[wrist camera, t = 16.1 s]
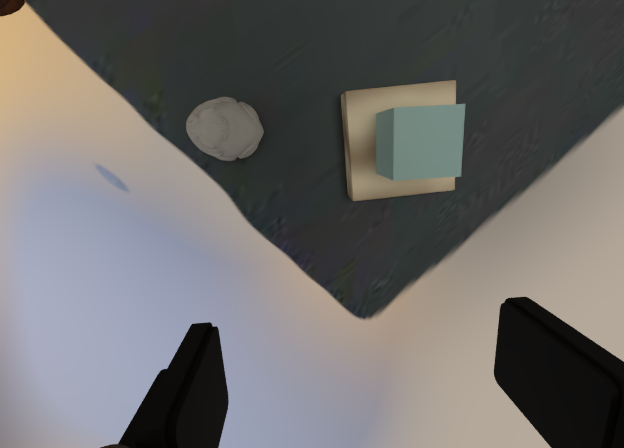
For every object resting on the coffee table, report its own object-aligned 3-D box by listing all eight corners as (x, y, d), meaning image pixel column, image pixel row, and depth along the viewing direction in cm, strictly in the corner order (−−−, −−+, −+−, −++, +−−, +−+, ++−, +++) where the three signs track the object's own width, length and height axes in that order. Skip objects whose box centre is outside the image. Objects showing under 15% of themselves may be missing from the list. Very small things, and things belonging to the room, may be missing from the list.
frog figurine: (201, 98, 35) (179, 89, 28) (268, 103, 35) (262, 95, 28) (202, 157, 36) (182, 161, 29) (266, 161, 37) (260, 165, 30)
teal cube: (376, 113, 33) (394, 107, 27) (434, 110, 33) (465, 103, 27) (376, 173, 34) (393, 180, 28) (432, 170, 34) (460, 176, 29)
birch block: (340, 96, 36) (345, 91, 32) (438, 86, 36) (455, 80, 32) (347, 194, 39) (353, 201, 35) (438, 184, 39) (454, 189, 35)
